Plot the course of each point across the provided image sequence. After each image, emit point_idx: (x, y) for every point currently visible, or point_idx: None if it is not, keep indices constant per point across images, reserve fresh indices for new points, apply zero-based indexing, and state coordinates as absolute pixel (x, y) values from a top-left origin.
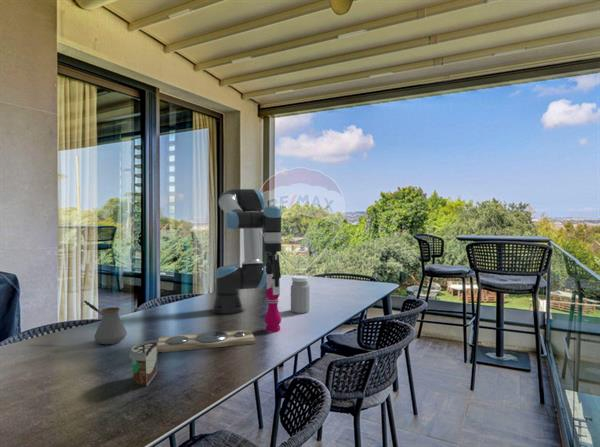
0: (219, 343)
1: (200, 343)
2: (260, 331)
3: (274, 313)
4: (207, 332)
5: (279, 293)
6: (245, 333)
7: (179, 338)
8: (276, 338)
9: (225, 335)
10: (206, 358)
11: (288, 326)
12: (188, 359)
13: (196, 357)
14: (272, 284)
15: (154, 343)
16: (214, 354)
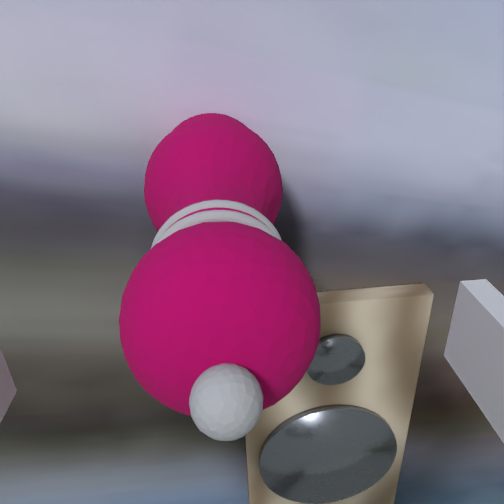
0: (408, 425)
1: (383, 480)
2: None
3: (269, 207)
4: (267, 478)
5: (492, 289)
6: (339, 340)
7: None
8: (389, 167)
9: (337, 417)
10: (498, 439)
11: (140, 25)
12: (478, 480)
13: (472, 464)
14: (247, 430)
15: None
16: (474, 421)
